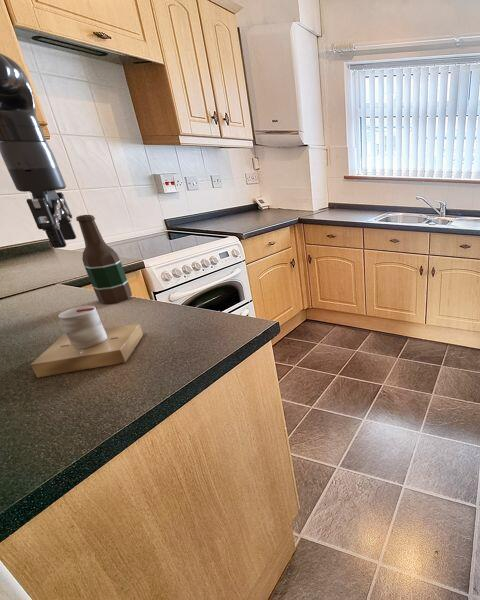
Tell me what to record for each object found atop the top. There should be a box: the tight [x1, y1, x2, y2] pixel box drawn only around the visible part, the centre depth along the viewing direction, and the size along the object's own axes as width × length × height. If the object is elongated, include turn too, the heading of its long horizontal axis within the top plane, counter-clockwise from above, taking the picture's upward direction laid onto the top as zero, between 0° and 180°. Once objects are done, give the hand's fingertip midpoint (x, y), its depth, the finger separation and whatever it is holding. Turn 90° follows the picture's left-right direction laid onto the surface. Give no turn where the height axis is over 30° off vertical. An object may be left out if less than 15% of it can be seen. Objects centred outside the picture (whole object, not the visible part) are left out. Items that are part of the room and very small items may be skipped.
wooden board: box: [30, 323, 144, 378], centre depth 70 cm, size 14×12×3 cm
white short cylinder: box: [57, 305, 107, 349], centre depth 68 cm, size 6×6×7 cm
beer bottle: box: [75, 214, 133, 305], centre depth 93 cm, size 8×8×24 cm
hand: (65, 243), depth 76 cm, fingers open, 8 cm apart
